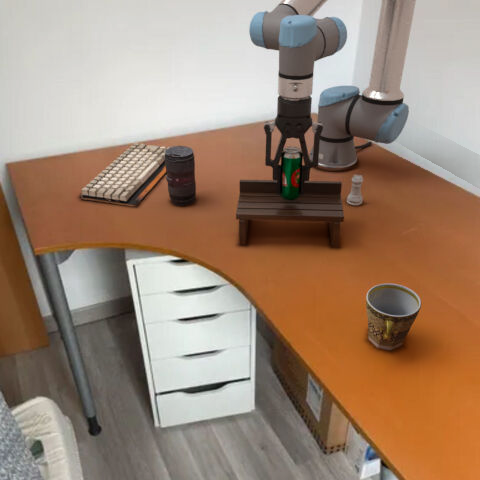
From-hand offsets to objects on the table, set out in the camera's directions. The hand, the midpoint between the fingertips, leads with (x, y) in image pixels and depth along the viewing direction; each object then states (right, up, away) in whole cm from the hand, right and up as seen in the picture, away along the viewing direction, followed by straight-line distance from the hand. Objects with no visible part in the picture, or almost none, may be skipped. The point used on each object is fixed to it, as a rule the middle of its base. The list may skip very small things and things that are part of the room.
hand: (290, 191), depth 129 cm
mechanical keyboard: (-46, +12, +35) cm, 59 cm away
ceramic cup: (+16, -35, -26) cm, 47 cm away
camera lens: (-29, +2, +22) cm, 36 cm away
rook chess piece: (+20, +1, +19) cm, 28 cm away
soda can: (0, -1, +1) cm, 1 cm away
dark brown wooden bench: (0, -9, +7) cm, 12 cm away
